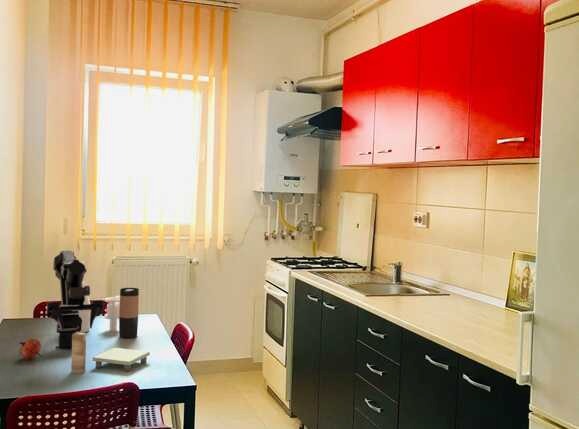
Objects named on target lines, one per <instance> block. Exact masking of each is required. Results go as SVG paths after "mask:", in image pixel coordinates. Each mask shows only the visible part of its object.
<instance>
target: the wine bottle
mask: <svg viewBox="0 0 579 429" xmlns="http://www.w3.org/2000/svg"><path fill="white" fill-rule="evenodd" d="M79 261H80V262H81V263H82V264H84V265H85V262H84V261H82V260H79ZM84 280H85V279H84V278H83V281H82V287H84V286H86V285H85V282H84ZM84 304H91V300H90V298H89V296H85V302H84ZM78 312H79V316H81V319H82V326H81V331H80V332H76V333H88V332H89V331H90V329H91V328H90V314H91V310H83V311H78Z"/></svg>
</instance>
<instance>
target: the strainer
mask: <svg viewBox="0 0 579 429" xmlns="http://www.w3.org/2000/svg"><path fill="white" fill-rule="evenodd" d="M104 300H105V301H104V302H106V303H107V304H106V314H105V315H104V318H105V319H107V320H109V331H110V332H116V331H118V327H117V326H118V320H119V309H120V295H116V296H112V297H111V296H110V297H106V298H105V299H104Z"/></svg>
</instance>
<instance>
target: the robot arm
mask: <svg viewBox="0 0 579 429" xmlns="http://www.w3.org/2000/svg"><path fill="white" fill-rule="evenodd" d="M53 258H54V259H53V262H52V263H53V266H52V268H53V269H52V270H53V271H54V274H55V275H54V276H55V277H56V278H57V279H58V280H59V285H60V300H61V302H60V301H48V302H47V303H46V317H47V318H50V319H51V320H54V321H55V332H56V334H58V335H59V336H58V345H56V346H55V348H56V349H61V350H62V349H63V350H72V334H74V333H76V332H80V331H81V326H82V319H81V316H79V312H78V311H83V310H90V329H92V327H93V324H94V321H95V319H96V317H99V315H102V314H103V311H104V307H105V301H104V300H102V299H92V300H91V302H90V304H84V302H85V296H88V297H89V296H90V295H91V289H90V288H91V287H90V285H85V286H84V287H82V281H83V278H84V277H85V274H86V273H87V268H86V266H85V263H84V264H82V263H81V262H80V261H81V260H79V259H77V256H75V252H74V251H73V250H61V251H59V254H57V255H56V256H54V257H53Z"/></svg>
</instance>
